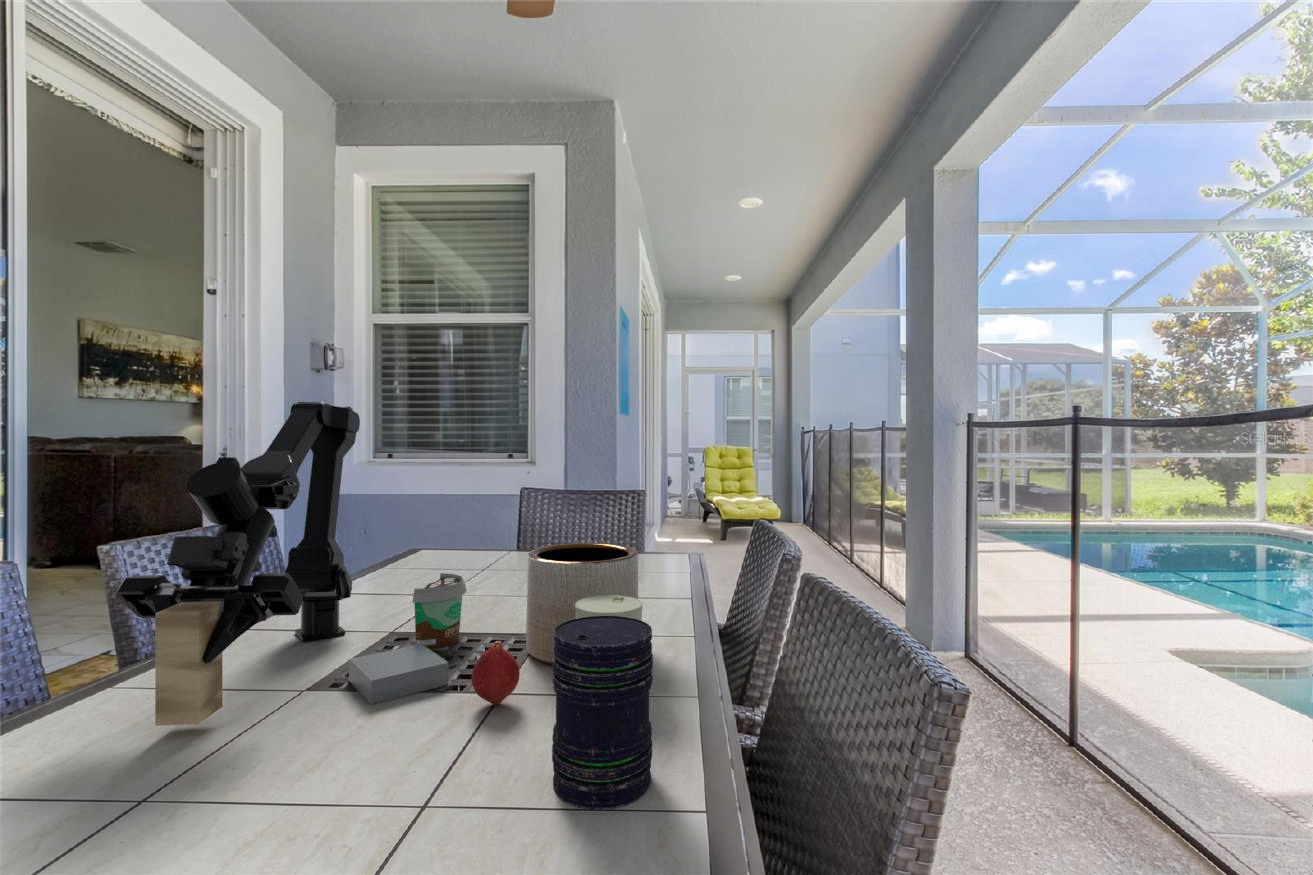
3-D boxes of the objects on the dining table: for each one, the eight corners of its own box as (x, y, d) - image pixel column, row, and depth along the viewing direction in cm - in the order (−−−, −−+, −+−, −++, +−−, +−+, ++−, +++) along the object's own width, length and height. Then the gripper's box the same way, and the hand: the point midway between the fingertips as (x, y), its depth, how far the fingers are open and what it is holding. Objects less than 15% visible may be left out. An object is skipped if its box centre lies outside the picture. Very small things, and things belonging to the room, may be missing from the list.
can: (651, 680, 88) (652, 594, 88) (627, 707, 79) (628, 612, 79) (591, 672, 91) (592, 589, 91) (561, 697, 82) (562, 605, 82)
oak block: (181, 708, 74) (181, 602, 74) (222, 706, 74) (222, 601, 74) (155, 725, 70) (155, 613, 69) (198, 724, 70) (199, 612, 70)
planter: (621, 628, 111) (622, 540, 111) (653, 663, 94) (653, 559, 94) (520, 638, 106) (520, 545, 106) (533, 676, 89) (534, 566, 89)
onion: (476, 718, 75) (477, 651, 75) (467, 700, 81) (467, 638, 81) (524, 709, 78) (524, 644, 78) (512, 692, 83) (512, 631, 83)
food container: (451, 654, 98) (451, 590, 98) (412, 653, 98) (412, 589, 98) (475, 630, 110) (476, 572, 110) (441, 629, 110) (441, 572, 110)
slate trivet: (348, 680, 87) (349, 659, 87) (421, 664, 93) (421, 643, 93) (371, 704, 79) (371, 680, 79) (448, 684, 86) (448, 662, 86)
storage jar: (602, 746, 69) (603, 610, 69) (672, 777, 63) (673, 628, 63) (530, 784, 61) (531, 631, 61) (602, 824, 55) (603, 654, 55)
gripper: (127, 508, 75) (47, 630, 64) (292, 507, 77) (242, 625, 66) (170, 561, 83) (106, 677, 72) (319, 559, 85) (279, 672, 74)
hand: (182, 662), depth 71 cm, fingers closed on oak block, 4 cm apart
